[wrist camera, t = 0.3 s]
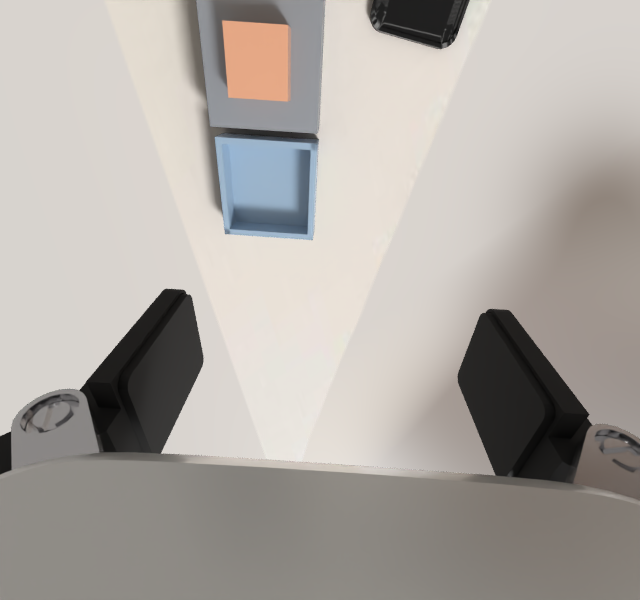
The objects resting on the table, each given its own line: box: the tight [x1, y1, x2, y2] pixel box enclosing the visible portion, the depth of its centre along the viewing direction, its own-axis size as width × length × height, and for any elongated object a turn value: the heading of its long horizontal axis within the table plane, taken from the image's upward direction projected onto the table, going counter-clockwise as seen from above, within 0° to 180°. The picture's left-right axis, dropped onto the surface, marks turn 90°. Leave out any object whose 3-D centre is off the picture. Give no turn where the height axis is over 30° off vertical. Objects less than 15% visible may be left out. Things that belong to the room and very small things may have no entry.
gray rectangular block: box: [196, 0, 325, 134], centre depth 29 cm, size 14×10×4 cm
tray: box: [215, 133, 319, 240], centre depth 36 cm, size 10×10×3 cm
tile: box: [222, 21, 291, 102], centre depth 27 cm, size 5×5×2 cm
